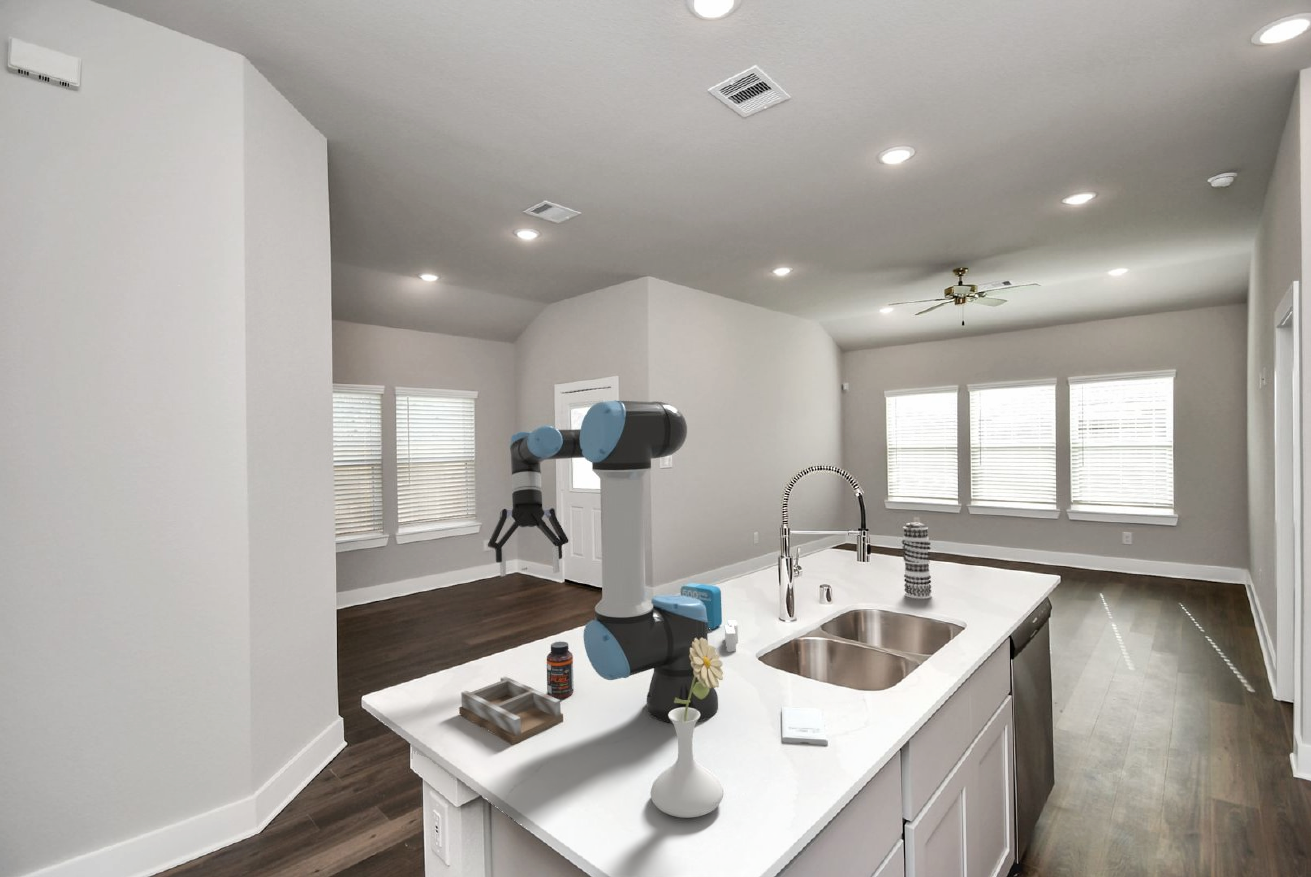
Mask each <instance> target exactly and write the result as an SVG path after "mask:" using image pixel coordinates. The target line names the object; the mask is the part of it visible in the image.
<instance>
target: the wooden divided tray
mask: <svg viewBox="0 0 1311 877" xmlns="http://www.w3.org/2000/svg"><path fill="white" fill-rule="evenodd" d="M499 679H500V681H497V682H494V683H491V684H489V685H487V686H484V687H481V688H478V689H475V690H473V691H468V690H464V691H461V692H460V694H461V706H459V708H458V711H459V714H461V715H462V716H461V715H460V716H461V717H463V716H465V717H466V718H468V719H469V720H468V719H467V720H468V721H470V722H472V721H473V722H472V723H474V724H475V723H476V725H477V726H479V725H480V726H479V727H481V728H482V727H483V728H482V729H484V728H485V730H486V729H487V730H486V731H488V730H489V731H490V733H491V732H492V733H491V734H494V735H495V736H496V737H499V738H500V739H502V740H504V741H505V742H507V743H510V744H511V745H516V744H518V743H521V742H523V741H524V740H527V739H529V738H531V737H533V736H535V735H538V734H540V733H541V732H544V731H546V730H547V729H550V728H552V727H554V726H556V725H558V724H561V723H563V722H564V714H563V713H562V710H561V709H562V708H561V700H560V699H559V698H554V697H552V696H549V695H548V693H544V692H543V691H540V690H538V689H535V688H533V687H531V686H528V685H526V684H524V683H521V682H519V681H517V680H514V679H513V678H510V677H508V676H502V677H500V678H499ZM465 717H464V718H465ZM466 718H465V719H466ZM489 731H488V732H489Z"/></svg>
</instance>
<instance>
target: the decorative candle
mask: <svg viewBox="0 0 1311 877" xmlns="http://www.w3.org/2000/svg"><path fill="white" fill-rule="evenodd" d="M902 528H903V540H901V544H902V545H903V546H902V548H901V549H902V554H903V562H904V567H905V569H904V574H903V575H904V576H903V577H904V580H903V581H904V582H905V583H904V586H903V587H904V596H905V597H907V598H912V599H919V600H920V599H924V600H925V599H930V598H932V585H931V583H932V580H931V578H932V576H931V571H930V566H929V565H930V563H931V561H930V560H931V557H930V556H931V552H929V550H931V547H930V546H931V542H929V535H928V529H929V527H928V526H926V524H925V523H923V522H915V521H913V522H907V523H906V524H905V525H904V526H902Z"/></svg>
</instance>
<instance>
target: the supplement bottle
mask: <svg viewBox="0 0 1311 877" xmlns="http://www.w3.org/2000/svg"><path fill="white" fill-rule="evenodd" d="M546 684H547V685H546V686H547V687H546V691H547V693H546V694H547V695H549V696H552V697H554V698H556V699H565V698H568V697H570V696H571V695H572V694H573V693H574V655H573V653H572V652H571V651H570V650H569V643H568V642H567V641H561V640H559V641H555V642H553V643H551V644H550V652H549V653H548V654H547V656H546Z"/></svg>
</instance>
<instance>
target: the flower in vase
mask: <svg viewBox="0 0 1311 877" xmlns="http://www.w3.org/2000/svg"><path fill="white" fill-rule="evenodd" d="M689 657H690V660H691V666H692V667H693V669H694V671H693V673H694V678H693V681H692V685H691V689H690V693H689V697H688V700H681V699H678V698H675V700H674V703H682V704H686V707H681V708H676V709H673V710H671V711H670V712H669V714H668V717H669V719H670V720H671V721H672V722H673V723H672V724H673V727H674V729H675V733H676V737H677V747H678V748H677V750H678V751H677V752H678V753H677V759H676V761H675V763H673V764H672V765H671V766H669V767H668V768H666V769H665V770H664V771H663V772H661V773H660V774H659V775H658V776H657V777H656V779H655V780H654V781H653V783H652V786H651V788H650V799H651V800H652V802H653V804H654V805H655V806H656V808H658V810H660V812H663V813H664V814H667V815H670V816H673V817H677V818H684V819H685V818H688V819H689V818H690V819H691V818H698V817H702V816H705V815H707V814H709V813H711V812H713V811H714V810H715V809H717V807H719V805H720V804H721V802H722V800H723V799H724V794H725V792H724V788H723V786H722V783H721V781H720V780H719V778H718V777H716V776H715V775H714V773H712V772H711V771H710V770H708V769H707V768H706V767H704V766H702V765H701V764H699V763H697V761H696V760H695V758H694V751H693V738H694V731H695V726H696V723H697V720H698V719H699V717H700V712H699V711H697V710H696V709H693V708H688V705H689V703H690V702H691V701H690V698H691V694H692V692H693V694H694V695H695V696H696V697H698V698H699V699H703V698H705V697H706V696H707V695H708V693H709V688H711V687H713V688H714V689H716V688H719V687H720V682H719V681H723V680H724V677H723V674H724V671H723V670H722V667H723V661H722V660H721V659H719V658H720V655H719V654H718V653H717V652H716V647H715V646H714V645H710V644H709V641H708V642H707V640H706V639H703V638H701V639H700V640H699V641H698V639H697V638H695V639H694V642H692V648H690V655H689ZM696 677H697V679H698V680H699V682H697V683H696V684H695V685H694V682H695V679H696ZM693 686H694V687H693ZM692 690H693V691H692Z"/></svg>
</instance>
